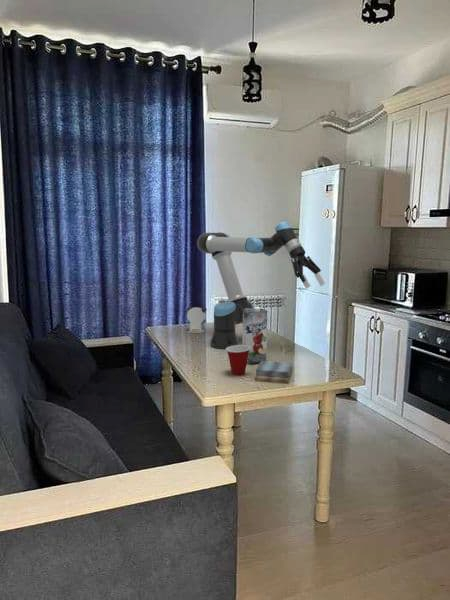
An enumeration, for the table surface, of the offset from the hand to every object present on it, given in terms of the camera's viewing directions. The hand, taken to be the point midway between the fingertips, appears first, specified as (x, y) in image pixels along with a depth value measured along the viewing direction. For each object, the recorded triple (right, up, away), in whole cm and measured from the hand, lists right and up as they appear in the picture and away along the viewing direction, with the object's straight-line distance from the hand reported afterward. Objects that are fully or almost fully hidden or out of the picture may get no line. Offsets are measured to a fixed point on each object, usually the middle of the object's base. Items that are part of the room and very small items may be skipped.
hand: (316, 286), depth 225 cm
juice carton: (-30, -37, -2) cm, 48 cm away
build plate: (-23, -40, -22) cm, 51 cm away
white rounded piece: (-62, -26, +62) cm, 92 cm away
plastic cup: (-39, -40, -21) cm, 59 cm away
